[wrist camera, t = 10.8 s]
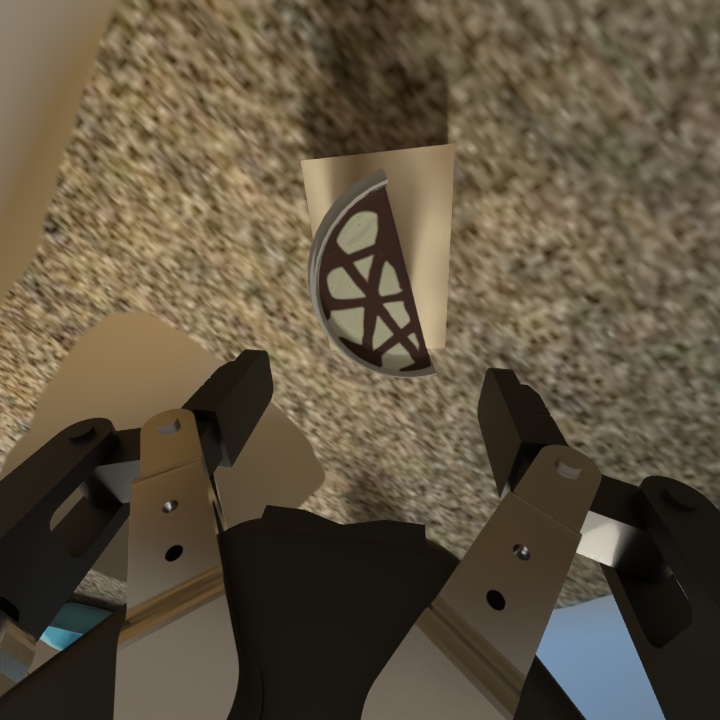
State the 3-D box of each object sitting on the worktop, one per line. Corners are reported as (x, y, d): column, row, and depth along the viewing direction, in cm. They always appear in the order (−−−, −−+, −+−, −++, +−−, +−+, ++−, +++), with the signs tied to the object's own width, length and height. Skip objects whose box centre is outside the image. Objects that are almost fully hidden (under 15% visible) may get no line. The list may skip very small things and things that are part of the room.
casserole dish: (65, 621, 99) (43, 651, 93) (44, 589, 88) (17, 620, 82) (181, 650, 100) (167, 681, 94) (176, 622, 88) (159, 656, 82)
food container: (295, 202, 24) (263, 212, 16) (372, 173, 24) (385, 165, 15) (348, 341, 30) (346, 406, 21) (412, 322, 29) (438, 381, 20)
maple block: (447, 147, 26) (455, 143, 22) (440, 325, 34) (445, 348, 30) (316, 161, 28) (300, 160, 24) (339, 328, 36) (330, 350, 32)
